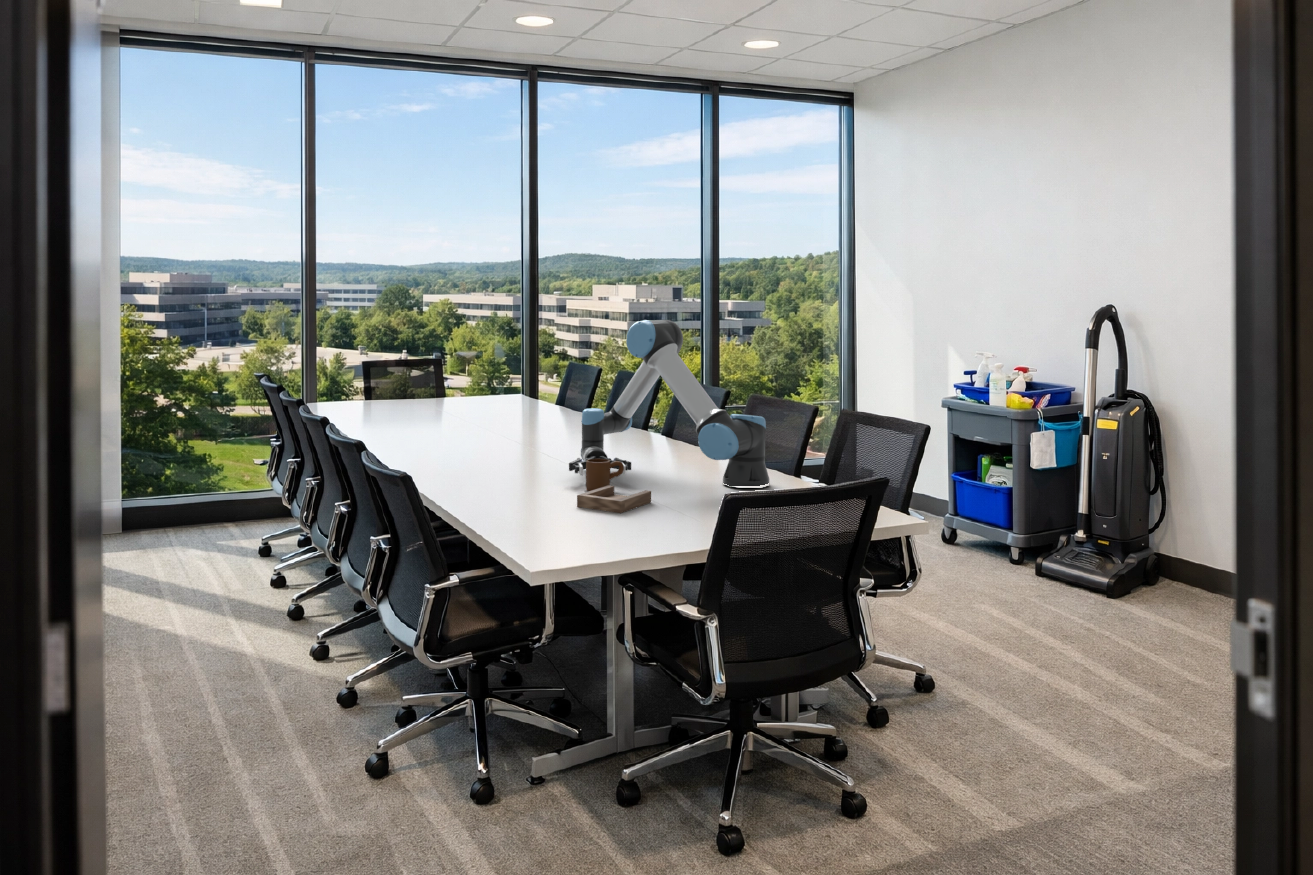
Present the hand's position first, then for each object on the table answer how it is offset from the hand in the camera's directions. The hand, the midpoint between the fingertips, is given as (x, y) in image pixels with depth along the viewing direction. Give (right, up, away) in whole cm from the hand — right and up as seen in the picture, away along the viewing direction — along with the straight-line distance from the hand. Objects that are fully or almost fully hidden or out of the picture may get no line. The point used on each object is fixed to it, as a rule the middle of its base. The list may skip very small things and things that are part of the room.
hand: (603, 470), depth 316 cm
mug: (+1, -6, 0) cm, 6 cm away
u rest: (+4, -9, -21) cm, 24 cm away
